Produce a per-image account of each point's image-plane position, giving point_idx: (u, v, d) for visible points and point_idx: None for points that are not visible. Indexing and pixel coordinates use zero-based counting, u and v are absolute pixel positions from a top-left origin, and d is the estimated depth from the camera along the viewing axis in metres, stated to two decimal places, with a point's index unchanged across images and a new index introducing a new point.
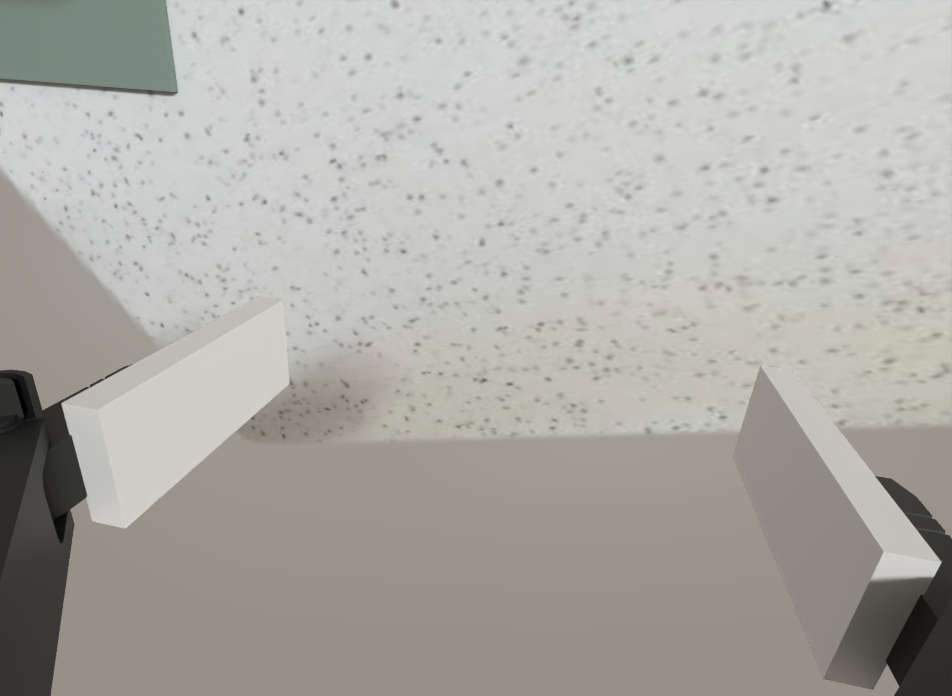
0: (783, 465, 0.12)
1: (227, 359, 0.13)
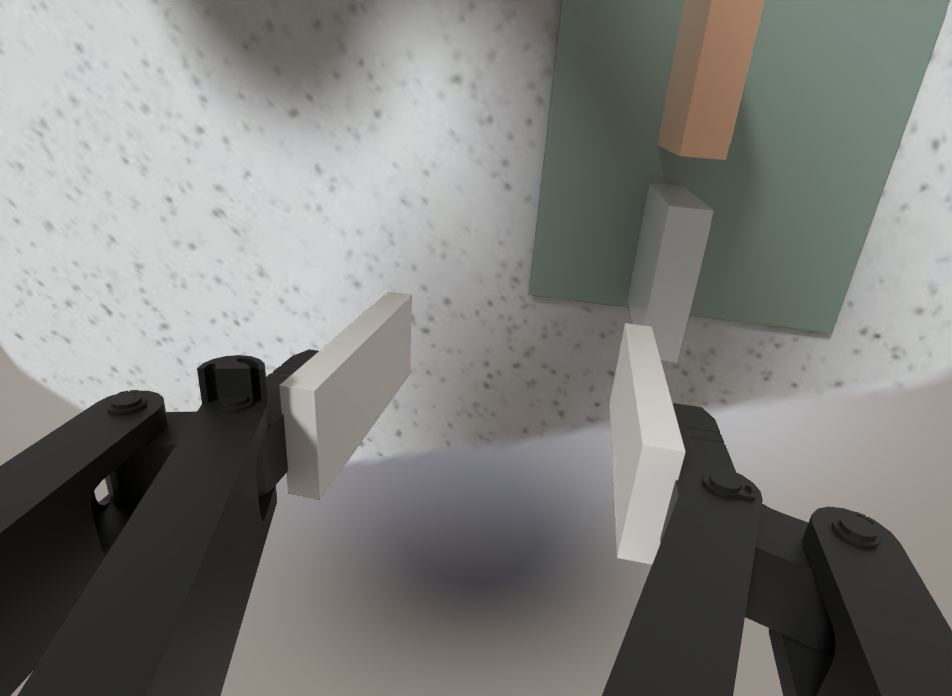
0: (623, 400, 0.14)
1: (379, 349, 0.15)
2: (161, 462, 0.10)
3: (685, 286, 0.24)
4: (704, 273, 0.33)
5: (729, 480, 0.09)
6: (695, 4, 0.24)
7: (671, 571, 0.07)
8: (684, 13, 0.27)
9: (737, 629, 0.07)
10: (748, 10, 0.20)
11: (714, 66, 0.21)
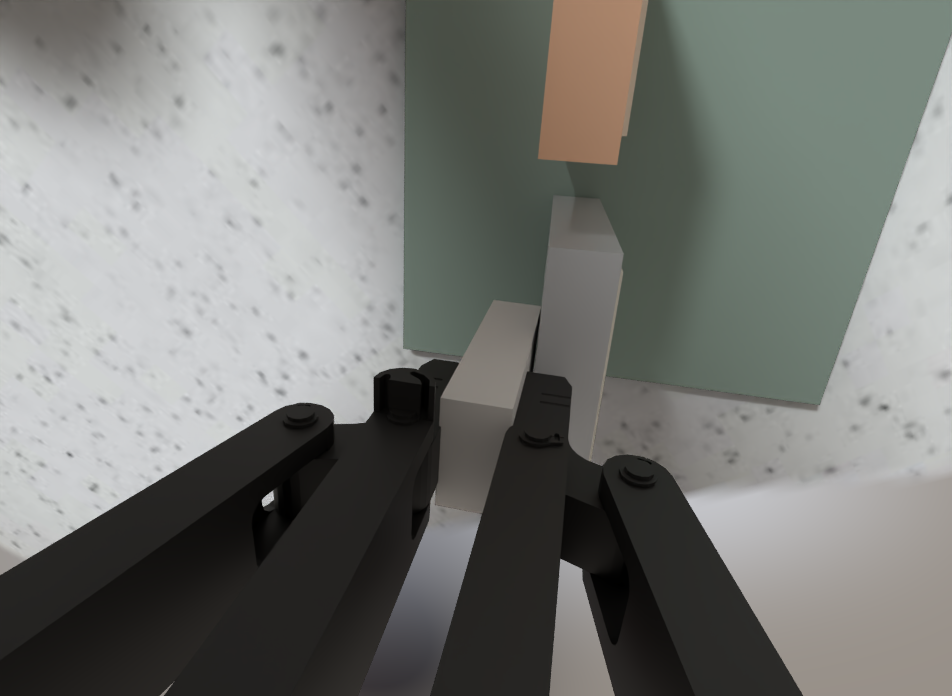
0: None
1: None
2: (322, 481, 0.10)
3: (586, 376, 0.15)
4: (638, 322, 0.23)
5: (540, 431, 0.10)
6: None
7: (497, 522, 0.08)
8: None
9: (555, 559, 0.08)
10: None
11: None
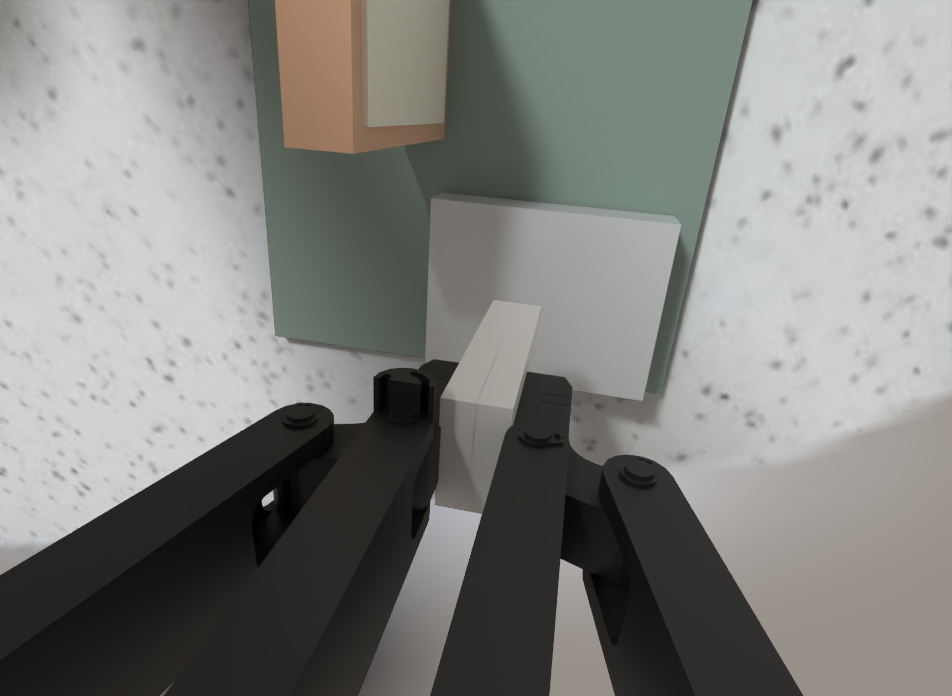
0: None
1: None
2: (322, 482, 0.10)
3: None
4: None
5: (541, 431, 0.10)
6: None
7: (497, 522, 0.08)
8: None
9: (556, 559, 0.08)
10: None
11: None
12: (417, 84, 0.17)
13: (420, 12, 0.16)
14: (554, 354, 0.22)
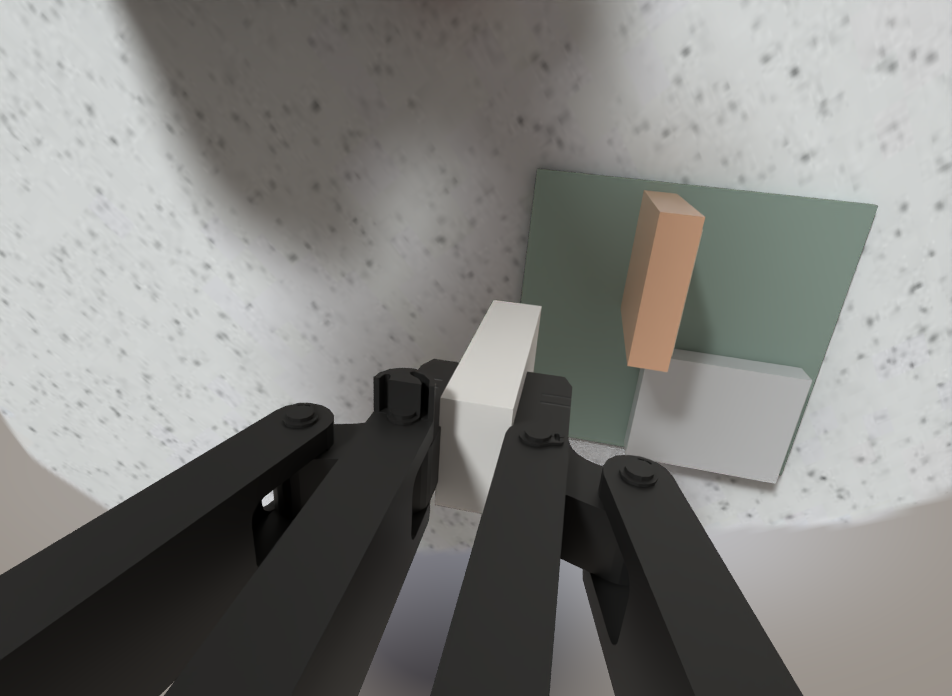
0: None
1: None
2: (322, 481, 0.10)
3: None
4: None
5: (541, 431, 0.10)
6: (646, 221, 0.27)
7: (497, 522, 0.08)
8: (642, 208, 0.30)
9: (555, 559, 0.08)
10: (683, 260, 0.23)
11: (655, 299, 0.24)
12: None
13: None
14: (718, 452, 0.34)
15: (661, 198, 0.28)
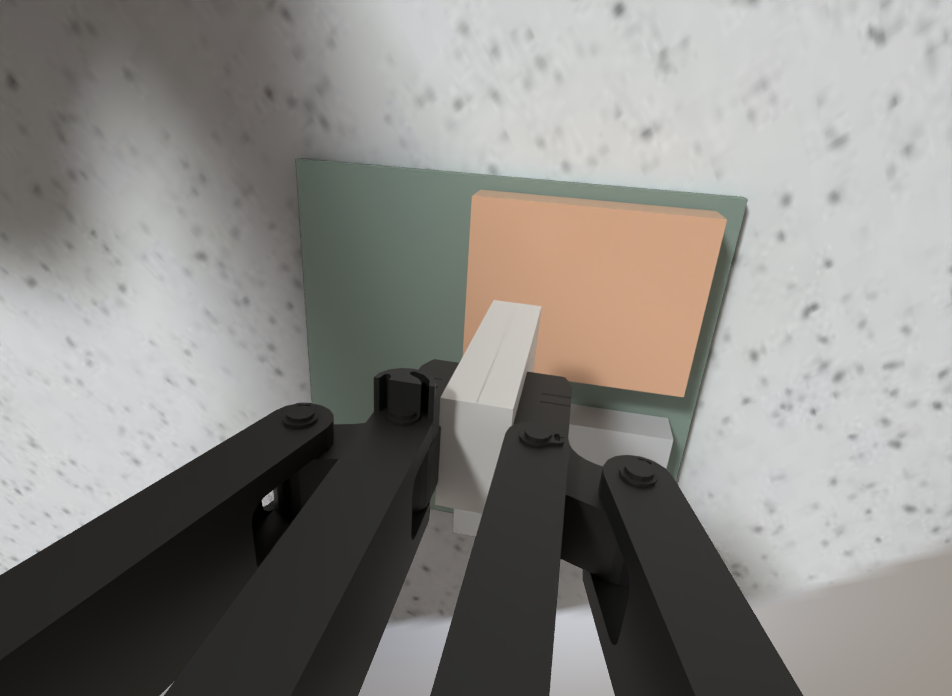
0: None
1: None
2: (322, 482, 0.10)
3: None
4: None
5: (541, 431, 0.10)
6: (596, 237, 0.20)
7: (497, 522, 0.08)
8: (502, 222, 0.21)
9: (555, 559, 0.08)
10: None
11: None
12: None
13: None
14: None
15: (570, 202, 0.20)
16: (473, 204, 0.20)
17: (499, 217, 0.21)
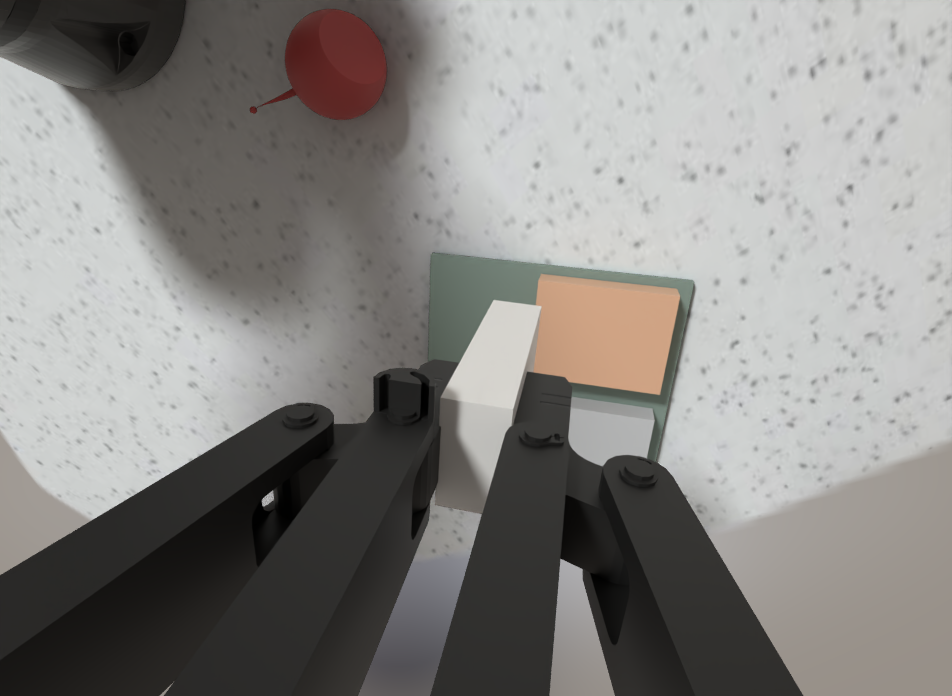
0: None
1: None
2: None
3: None
4: None
5: (540, 431, 0.10)
6: (608, 304, 0.36)
7: (497, 522, 0.08)
8: (555, 295, 0.37)
9: (555, 559, 0.08)
10: None
11: None
12: None
13: None
14: None
15: (593, 284, 0.36)
16: (539, 285, 0.37)
17: (553, 292, 0.37)
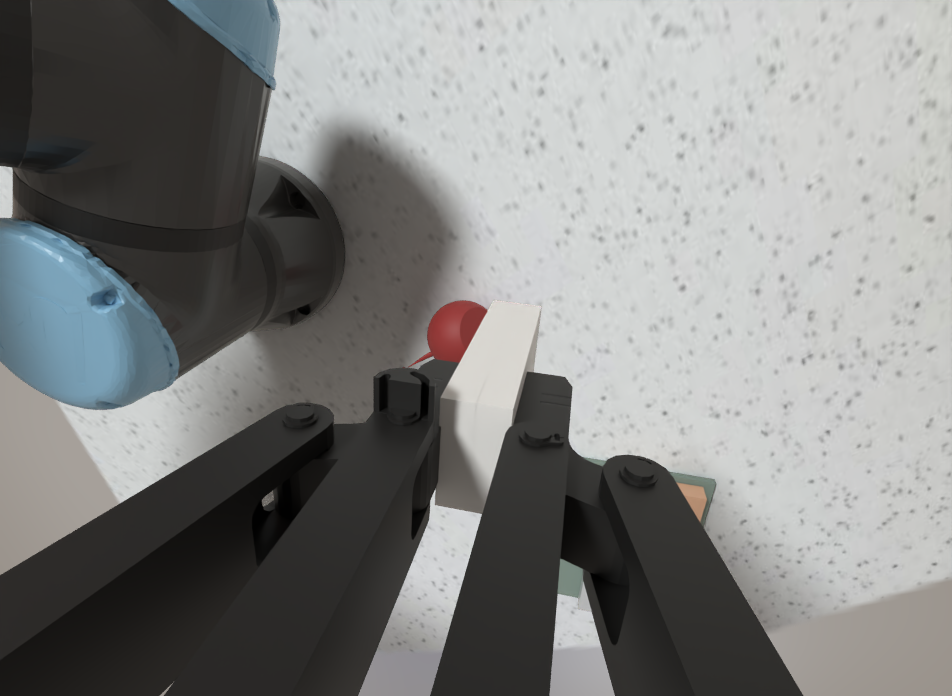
0: None
1: None
2: (322, 481, 0.10)
3: None
4: None
5: (540, 431, 0.10)
6: None
7: (497, 522, 0.08)
8: None
9: (556, 559, 0.08)
10: None
11: None
12: None
13: None
14: None
15: None
16: None
17: None
